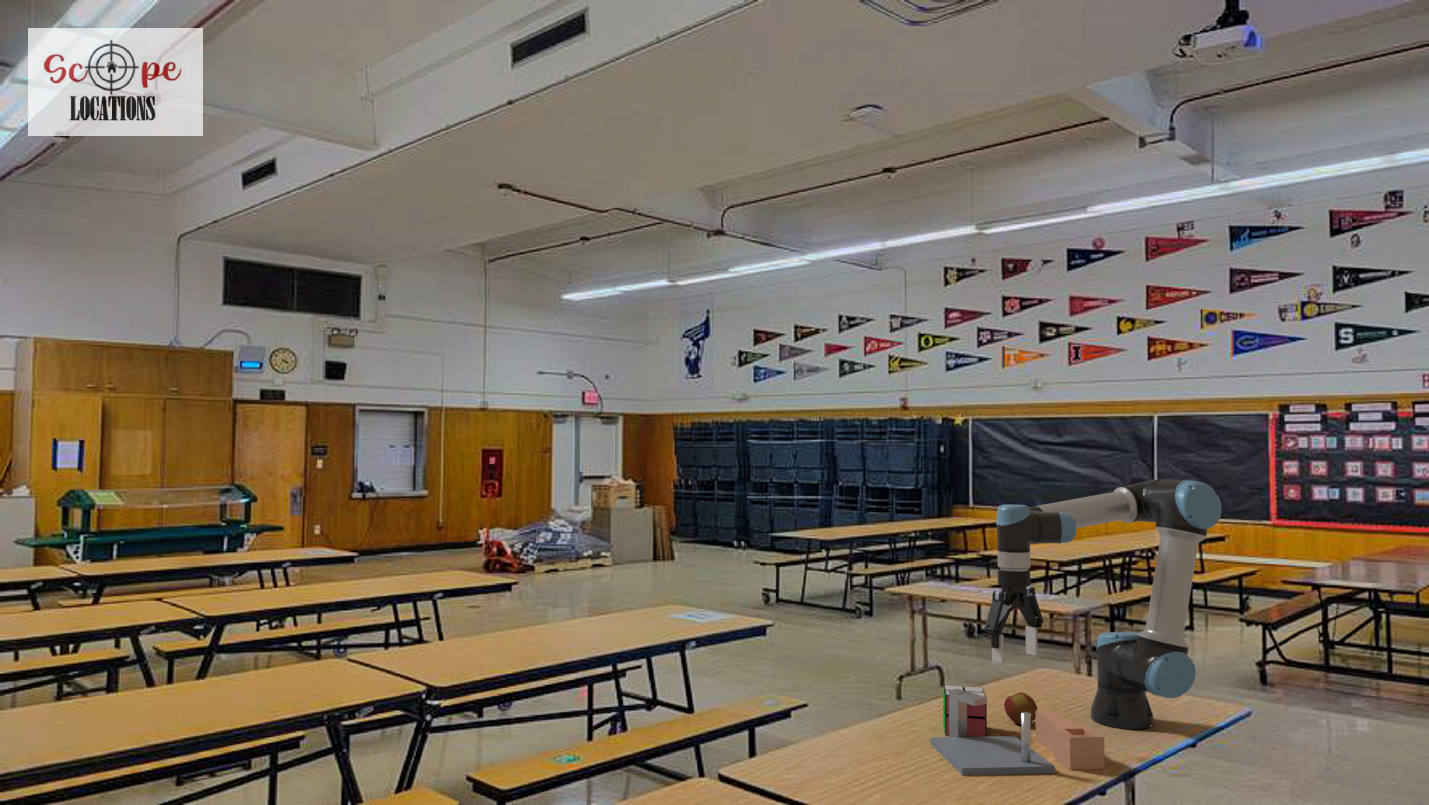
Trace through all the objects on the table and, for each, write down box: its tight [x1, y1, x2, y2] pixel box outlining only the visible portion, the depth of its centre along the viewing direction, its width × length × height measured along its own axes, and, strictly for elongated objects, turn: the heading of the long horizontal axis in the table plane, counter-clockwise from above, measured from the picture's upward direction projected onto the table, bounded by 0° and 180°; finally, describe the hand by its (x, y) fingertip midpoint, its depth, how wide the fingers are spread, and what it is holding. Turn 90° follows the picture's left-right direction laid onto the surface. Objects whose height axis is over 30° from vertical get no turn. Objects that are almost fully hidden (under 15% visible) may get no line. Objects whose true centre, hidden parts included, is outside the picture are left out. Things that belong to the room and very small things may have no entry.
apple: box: [1004, 692, 1039, 725], centre depth 234 cm, size 8×8×8 cm
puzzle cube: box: [942, 684, 988, 737], centre depth 227 cm, size 10×10×10 cm
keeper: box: [948, 689, 988, 737], centre depth 217 cm, size 4×9×12 cm, turn 29°
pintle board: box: [930, 735, 1056, 776], centre depth 207 cm, size 21×21×2 cm
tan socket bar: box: [1035, 710, 1106, 771], centre depth 211 cm, size 20×8×7 cm, turn 5°
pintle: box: [1020, 712, 1032, 763], centre depth 201 cm, size 2×2×12 cm
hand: (1015, 658), depth 216 cm, fingers open, 13 cm apart
